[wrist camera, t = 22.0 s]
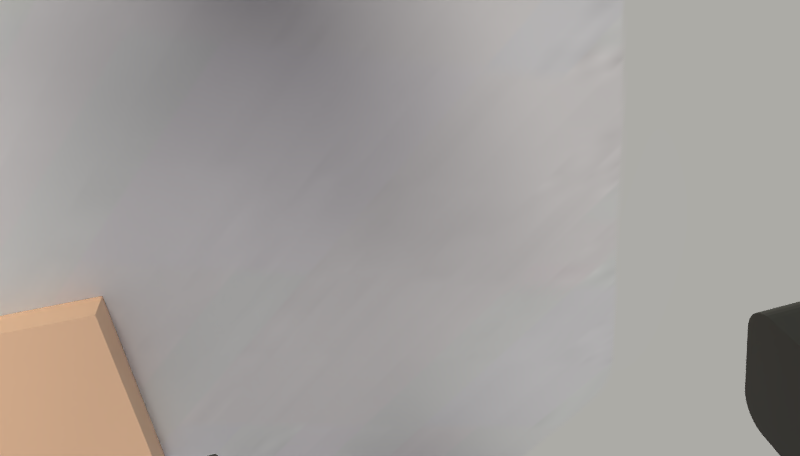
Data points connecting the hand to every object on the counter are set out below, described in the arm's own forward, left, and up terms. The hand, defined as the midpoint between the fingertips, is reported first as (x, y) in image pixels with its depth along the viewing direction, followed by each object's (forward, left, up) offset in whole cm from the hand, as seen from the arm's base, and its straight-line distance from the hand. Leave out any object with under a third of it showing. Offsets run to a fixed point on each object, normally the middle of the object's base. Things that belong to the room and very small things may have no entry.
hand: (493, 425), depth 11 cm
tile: (+11, -22, -27) cm, 37 cm away
